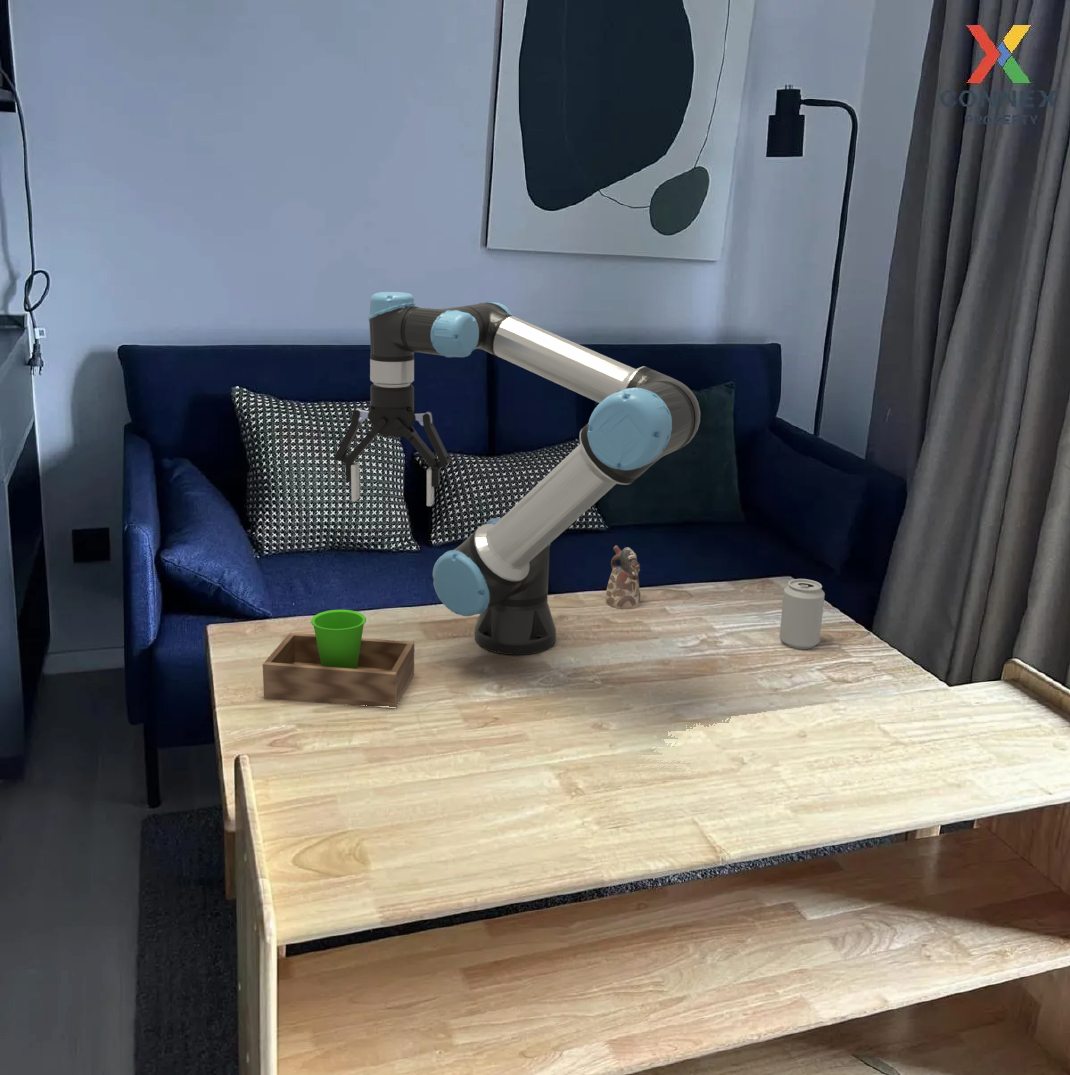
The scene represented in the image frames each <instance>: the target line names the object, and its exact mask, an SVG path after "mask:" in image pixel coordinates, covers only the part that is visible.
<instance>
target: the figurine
mask: <svg viewBox="0 0 1070 1075" xmlns="http://www.w3.org/2000/svg"><path fill="white" fill-rule="evenodd" d="M613 551H614V552H615V555H614V556H613V557H612V558H611V561H610V566H611V569H612V570H611V573H610V576H609V579H608V583H607V586H606V593H605V602H606V604H607V605H608V606H609V607H611V608H614V609H620V610H623V609H624V610H626V609H627V610H628V609H629V610H630V609H637V608H638V607H640V606H641V591H640V580H639V573H640V571H641V569H640V568H641V564H640V563H639V562H638V557H637V554H636V552H635V551H634V550H633V549H631V548H630V547H628V546H627V547H626V546H625V547H624V548H623V549H620V547H619V546H618V545H615V546H614V547H613ZM616 561H618V562H619V565H617V563H616Z"/></svg>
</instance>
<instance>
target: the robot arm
mask: <svg viewBox="0 0 1070 1075" xmlns="http://www.w3.org/2000/svg"><path fill="white" fill-rule="evenodd" d="M369 303H370V304H369V305H370V306H369V316H368V322H369V342H370V344H369V345H370V354H369V355H370V356H369V357H370V359H369V365H370V367H369V370H370V371H369V372H370V373H369V378H370V379H369V380H370V382H372V384H371V385H370V388H369V390H370V391H369V392H370V393H369V394H370V396H369V397H370V409H369V410H363V409H362V407H357V408H356V409H354V410H353V411H352V415H351V423H350V425H349V426H348V428H347V431H346V433H345V435H344V437H343V439H342V441H341V443H340V444H339V447H338V449H337V452H336V453H335V455H334V459H335V460H336V461H337V462H342V463H344V466H345V479H346V482H349V483H350V484H351V485H350V486H351V495H350V496H351V502H357V501H358V500H359V499H360V497H361V496H360V491H361V490H360V462H359V461H358V462H356V459H357V458H358V457H359V456H360V455H361V454H362V452H363V451H364V450H365V449H366V448H367V447H368V445H370V443H371V442H372V441H373V440H374V439H375V437H377V435H380V436H382V438H388V437H389V438H390V437H393V438H395V439H396V438H397V439H398V438H399V439H400V438H402V437H404V438H405V439H406V441H408V442H409V443H410V444H411V445H412V446H413V447H414V449H415V450H416V451H417V452H418V453H419V455H420V456H421V457H422V459H424V461H425V462H426V463H427V465H428V466H429V467H428V468H427V469H426V506H427V507H432V505H433V504H434V503H435V488H438V487H439V486H440V482H441V480H440V479H441V469H442V468H446V467H448V465H449V464H450V463H451V458H450V455H449V453H448V452H447V450H446V447H445V446H444V444H443V442H442V439H441V438H440V435H439V434H438V433H439V432H438V431H437V429H436V427H435V425H434V419H433V413H432V412H431V411H426V412H425V413H424V412H423V413H416V411H415V386H414V385H413V384H412V383H413V382H415V353H421V354H428V355H436V356H442V357H445V358H465V357H468V356H470V355H471V354H472V352H473V351H475V350H476V349H479V350H482V351H485V352H487V353H489V354H491V355H494V356H495V357H498V358H501V359H502V360H505V361H507V362H509V363H511V364H514V365H516V366H518V367H520V368H523V369H524V370H527V371H529V372H531V373H533V374H536V375H538V376H540V377H542V378H544V379H546V380H548V381H550V382H553V383H554V384H557V385H560V386H561V387H563V388H567V390H571V391H573V392H575V393H577V394H579V395H581V396H583V397H586V398H587V399H590V400H592V401H594V402H596V403H598V405H597V406H596V407H594V409H593V411H592V412H591V415H590V417H589V420H588V423H587V424H585V425H584V426H583V427H582V428H581V429H580V431H579V444H578V445H577V446H576V447H575V448H574V449H573V450H572V451H571V452H570V453H569V454H568V455H567V456H566V457H565V458H563V460H562V461H560V463H558V464H557V465H556V466H555V467H554V468H553V469H552V470H551V471H550V472H549V473H548V474H547V475H546V476H545V477H543V479H542V480H540V481H539V482H538V483H537V484H536V485H535V486H534V487H533V488H532V489H531V490H530V491H528V493H527V494H525V495H524V496H523V497H522V498H521V499H520V500H519V501H518V502H517V503H516V504H515V505H514V506H513V507H512V508H511V509H510V510H509V511H508V512H507V513H505V515H503V516H502V517H495V518H491V519H489V520H487V522H486V523H485V524H482V525H481V526H479V527H478V528H477V529H475V530H474V531H473V532H472V534H470V535H469V536H468V537H467V538H466V539H465V540H463V542H462V543H461V544H460V545H459V546H457V547H456V548H454V549H452V550H450V549H449V550H447V551H446V552H444V553H443V554H442V555H441V556H439V558H438V559H437V560H436V561H435V563H434V566H433V569H432V578H433V583H432V584H433V588H434V590H435V593H436V595H437V596H438V599H439V601H440V602H441V603H442V604H443V605H444V606H445V608H447V609H448V610H449V611H450V612H451V613H454V614H456V615H459V616H461V617H472V616H474V615H478V614H479V615H478V618H477V620H476V623H475V626H474V641H475V643H476V644H477V645H478V646H479V647H481V648H482V649H484V650H487V651H489V652H490V651H491V652H493V653H498V654H503V655H516V656H517V655H532V654H537V653H541V652H544V651H546V650H548V649H551V648H552V647H553V646H554V645H555V644H556V637H557V636H556V635H557V633H556V631H557V630H556V626H555V622H554V619H553V616H552V612H551V608H550V606H549V602H548V600H549V599H548V596H549V594H548V593H549V592H548V591H549V571H550V547H551V543H552V542H554V540H556V539H557V538H558V537H559V536H560V535H561V534H562V533H563V532H565V531H566V530H567V529H568V528H569V527H570V526H571V525H572V524H573V523H574V522H575V521H577V520H578V519H579V518H580V517H581V516H582V515H583V514H584V513H585V512H587V511H588V510H589V509H591V507H592V506H594V505H595V504H596V503H597V502H598V501H599V500H600V499H601V498H602V497H603V496H605V495H606V494H607V493H609V491H610V490H612V488H614V486H616V485H622V486H623V485H625V486H626V485H627V486H628V485H630V484H632V483H633V482H634V481H635V480H637V479H638V478H639V477H640V476H641V475H642V474H644V473H645V472H646V471H647V470H649V468H650V467H652V466H653V465H654V464H655V463H656V462H658V461H659V460H660V459H661V458H663V457H664V456H667V455H669V454H671V453H674V452H676V451H679V450H680V449H683V447H686V445H688V444H689V443H690V442H691V441H692V440H693V438H694V437H695V435H696V433H697V432H698V430H699V426H700V424H701V409H700V406H699V405H700V404H699V402H698V400H697V397H696V395H695V394H694V393H693V391H692V390H691V389H690V388H689V387H688V386H687V385H686V384H684V383H683V382H681V381H679V380H677V379H675V378H673V377H671V376H669V375H666V374H664V373H661V372H659V371H657V370H654V369H652V368H650V367H648V366H644V365H643V366H641V367H638V368H635V367H632V366H630V365H627V364H625V363H622V362H620V361H617V360H616V359H613V358H611V357H608V356H606V355H604V354H601V353H599V352H597V351H595V350H593V349H590V348H588V347H586V346H583V345H581V344H579V343H576V342H573V341H571V340H569V339H567V338H565V337H562V336H560V335H558V334H556V333H553V332H551V331H548V330H546V329H544V328H542V327H539V326H537V325H535V324H532V323H530V322H527V321H525V320H523V319H520V318H519V317H516V316H514V315H513V313H512V312H511V311H510V309H509V308H508V307H507V306H506V305H504V304H502V303H500V302H490V301H487V302H485V301H483V302H480V303H477V304H470V305H463V306H454V307H448V308H430V307H429V308H428V307H427V308H426V307H418V306H416V304H415V296H414V295H413V294H411V293H408V292H402V291H382V292H376V293H373V294H372V295H371V297H370V301H369ZM366 419H368V420H369V422H370V423H371V424H372V426H373V427H372V428H371V429H370V431H368V433H367V434H366V436H364V438H363V439H362V440H361V441H359V443H358V444H357V445H356V447H355V448H354V449H353V450H352V451H351V452H350V453H347V452H348V450H349V448H350V447H351V445H352V443H353V440H354V439H355V436H356V434H357V433H358V430H359V429H360V426H361V424H362V423H363V422H365V421H366ZM416 421H417V422H418V423H419V425H420V426H422V427H423V429H424V431H425V434H426V435H427V438H428V440H429V443H430V444H431V446H432V449H433V450H434V451H432V450H431V449H430V447H428V445H427V444H426V443H425V441H424V440H423V439H422V438H421V436H420V435H419V434H418V432H417V430H416V429H415V428H414V427H413V425H414V424H415V423H416ZM433 452H435V454H436V455H435V454H434V453H433Z"/></svg>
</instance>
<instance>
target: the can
mask: <svg viewBox="0 0 1070 1075" xmlns="http://www.w3.org/2000/svg"><path fill="white" fill-rule="evenodd" d="M822 588H823V585H822V584H821V583H820V582H818V581H815V580H812V579H807V578H796V579H795V578H794V579H791V580H789V581H788V582H787V586H785V587H784V589H783V597H782V608H781V618H780V627H779V635H778V636H779V639H780V640H781V641H782V643H783V644H785V645H786V646H787V647H790V648H792V649H800V650H802V649H803V650H807V649H812V648H814V647H815V646H816V645H818V644H819V643H820V639H821V630H822V622H823V621H822V620H823V614H824V602H825V595H826V594H825V591H824V590H823V589H822Z"/></svg>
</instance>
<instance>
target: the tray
mask: <svg viewBox="0 0 1070 1075" xmlns="http://www.w3.org/2000/svg"><path fill="white" fill-rule="evenodd" d="M414 675H415V641H406V640H405V641H404V640H392V639H391V640H390V639H380V638H379V639H378V638H368V637H367V638H364V637H362V639H361V646H360V652H359V659H358V666H357V669H349V668H337V667H324V666H321V661H320V656H319V651H318V645H317V640H316V635H315V633H314V634H312V633H299V632H298V633H297V632H289V633H288V634H287V636H286V637H284V639H283V640H282V641H281V642H280V644H279V645H278V646H277V647H276V648H275V649H274V650H273V652H272V653H271V654H270V655H269V656H268V657H267V659H265V661H264V662H263V663H262V683H263V684H262V685H263V687H262V688H263V698H264V699H272V700H281V701H282V700H283V701H296V702H306V703H307V702H308V703H309V702H310V703H317V704H318V703H321V704H331V705H332V704H333V705H343V704H344V705H345V704H348V705H347V706H355V705H365V706H364V707H367V706H389V707H396V706H397V707H398V705H399V703H400V701H401V700H402V698H403V696H404V694H405V692H406V690H407V688H409V687H408V686H410V683H411V681H412V679H413V677H414ZM400 699H401V700H400ZM398 702H399V703H398ZM349 704H350V705H349ZM397 704H398V705H397ZM344 705H343V706H344ZM366 705H367V706H366ZM345 706H346V705H345ZM397 707H396V708H397Z"/></svg>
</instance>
